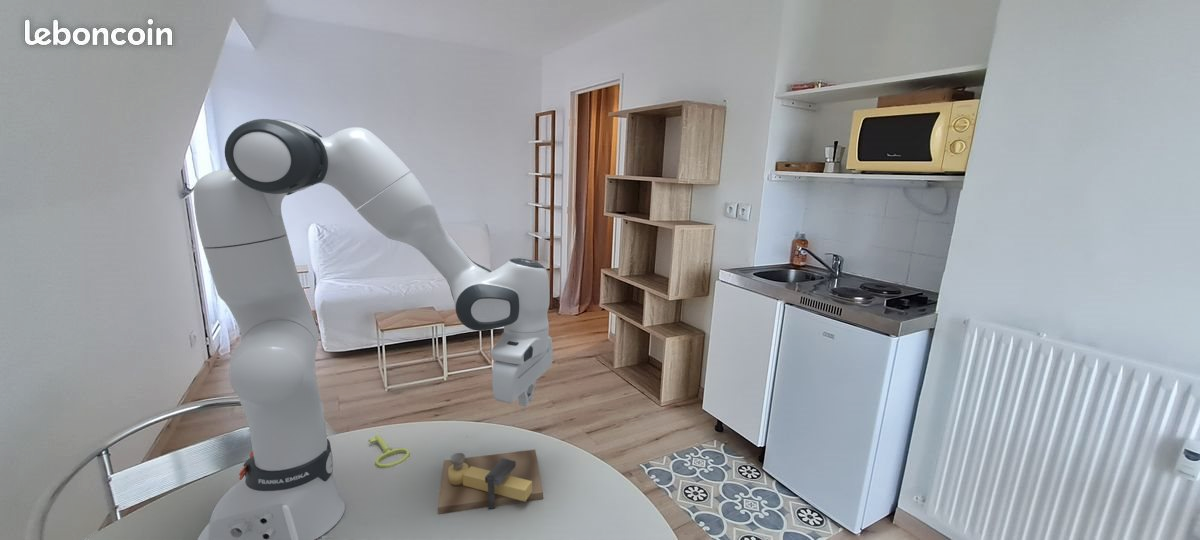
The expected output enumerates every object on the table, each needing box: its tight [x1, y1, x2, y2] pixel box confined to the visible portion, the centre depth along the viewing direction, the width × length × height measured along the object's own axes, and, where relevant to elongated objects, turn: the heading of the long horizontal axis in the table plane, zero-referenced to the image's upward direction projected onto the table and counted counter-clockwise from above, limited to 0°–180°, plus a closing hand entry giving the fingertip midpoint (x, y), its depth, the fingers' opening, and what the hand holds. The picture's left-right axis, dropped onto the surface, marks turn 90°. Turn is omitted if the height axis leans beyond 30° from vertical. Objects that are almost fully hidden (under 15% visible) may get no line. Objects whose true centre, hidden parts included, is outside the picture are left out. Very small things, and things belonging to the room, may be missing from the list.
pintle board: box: [437, 449, 544, 515], centre depth 98 cm, size 20×16×7 cm
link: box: [448, 463, 532, 502], centre depth 95 cm, size 18×4×2 cm, turn 72°
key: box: [368, 434, 411, 469], centre depth 108 cm, size 7×12×2 cm, turn 62°
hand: (525, 403), depth 97 cm, fingers closed
